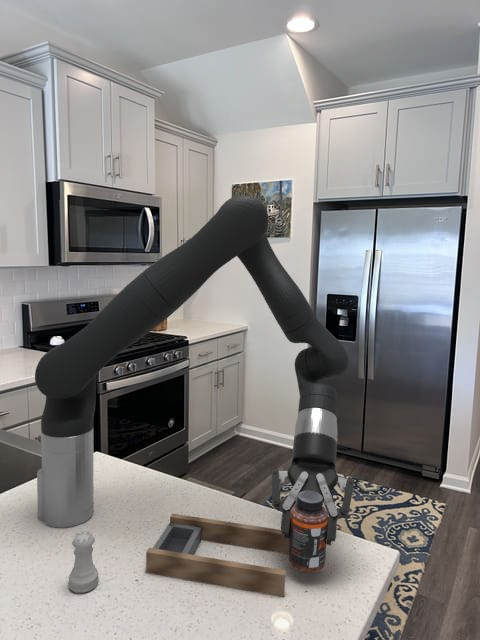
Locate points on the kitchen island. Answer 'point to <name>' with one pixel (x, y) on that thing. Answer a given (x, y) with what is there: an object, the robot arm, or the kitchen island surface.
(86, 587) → the rook chess piece
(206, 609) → the kitchen island surface
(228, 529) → the walnut channel
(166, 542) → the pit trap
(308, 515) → the supplement bottle
